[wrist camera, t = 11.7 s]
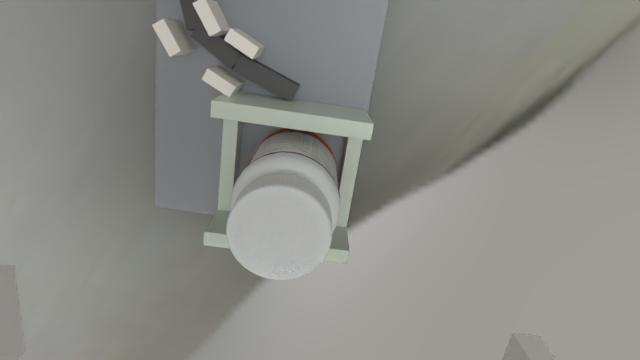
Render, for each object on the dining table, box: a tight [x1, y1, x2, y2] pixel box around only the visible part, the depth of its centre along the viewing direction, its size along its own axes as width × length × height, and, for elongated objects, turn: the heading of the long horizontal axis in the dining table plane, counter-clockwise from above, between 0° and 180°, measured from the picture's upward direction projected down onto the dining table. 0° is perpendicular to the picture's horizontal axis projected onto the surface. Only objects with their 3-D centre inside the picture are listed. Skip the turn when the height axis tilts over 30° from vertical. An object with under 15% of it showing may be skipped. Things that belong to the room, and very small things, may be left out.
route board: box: [152, 0, 389, 215], centre depth 27 cm, size 19×15×4 cm
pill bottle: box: [226, 128, 340, 280], centre depth 24 cm, size 6×6×11 cm
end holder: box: [204, 91, 374, 264], centre depth 27 cm, size 10×10×5 cm
